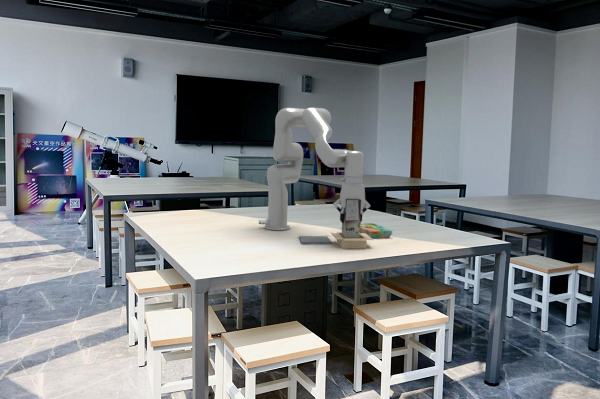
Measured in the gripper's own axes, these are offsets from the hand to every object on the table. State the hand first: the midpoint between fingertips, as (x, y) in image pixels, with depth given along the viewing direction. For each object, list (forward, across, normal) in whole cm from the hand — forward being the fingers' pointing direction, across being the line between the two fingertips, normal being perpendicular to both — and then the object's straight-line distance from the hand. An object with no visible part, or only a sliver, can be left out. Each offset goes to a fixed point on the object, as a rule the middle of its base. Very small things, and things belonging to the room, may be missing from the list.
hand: (350, 222), depth 211 cm
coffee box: (+6, 0, 0) cm, 6 cm away
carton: (+10, 0, -1) cm, 10 cm away
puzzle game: (+10, +15, +24) cm, 30 cm away
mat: (+10, -14, +6) cm, 18 cm away
